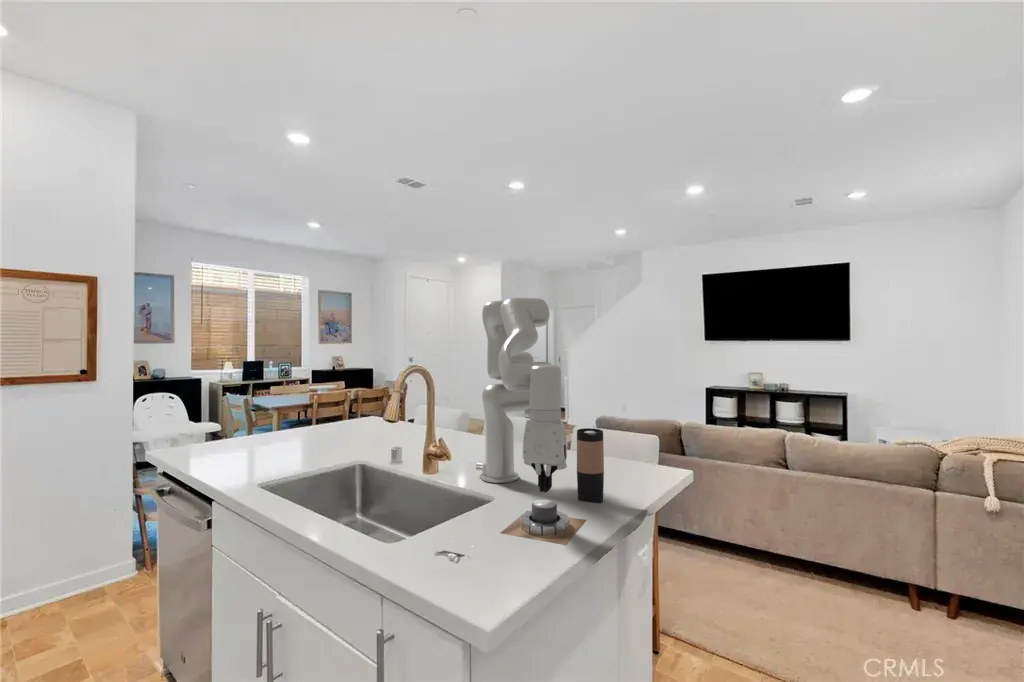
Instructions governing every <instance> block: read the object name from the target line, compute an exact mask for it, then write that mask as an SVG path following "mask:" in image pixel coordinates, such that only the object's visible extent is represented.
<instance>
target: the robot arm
mask: <svg viewBox="0 0 1024 682" xmlns="http://www.w3.org/2000/svg"><path fill="white" fill-rule="evenodd" d="M481 311H482V315H481V316H482V317H481V319H482V324H483V327H484V330H485V333H486V338H487V351H486V352H487V353H486V355H487V363H486V365H487V366H486V368H487V369H486V370H487V375H488V377H489V378H490V379H492V380H494V381H495V380H496V381H501V382H502V383H491V384H489V385H487V386H486V387H484V389H483V390H482V395H481V396H482V397H481V398H482V404H483V412H484V425H485V426H484V427H485V429H484V432H485V439H484V440H485V441H484V442H485V446H484V447H485V448H484V449H485V463H481V462H476V465H475V469H476V471H482V473H481V474H480V478H481V481H484V482H487V483H492V484H506V483H510V482H514V481H517V480H518V479H519V473H518V472H516V471H515V452H514V451H515V449H514V448H515V447H514V446H515V445H514V440H515V438H514V437H515V436H514V433H515V429H514V424H513V422H512V420H511V419H510V418H509V416H508V415H507V413H511V412H524V415H525V416H528V419H526V422H525V424H524V425H525V427H524V434H523V440H522V459H523V464H525V465H526V466H529V467H532V469H533V470H534V471H535V473H536V475H537V476H538V477H537V483H538V484H537V487H538V488H539V492H540V493H543V494H546V493H547V492H549V491H550V490H551V489H552V487H553V474H554V473H555V472H556V471H558V470H559V471H560V470H565V469H566V468H567V461H566V460H567V456H568V454H567V453H568V450H567V436H566V429H565V424H564V421H562V420H561V419H562V417H561V415H562V412H561V411H562V407H561V406H562V404H561V403H562V402H561V401H562V371H561V368H560V367H559V366H558V365H555V364H552V363H551V362H548V361H534V358H533V356H532V354H531V353H530V352H529V351H528V352H527V350H529V349H531V348H532V347H533V346H535V344H537V342H538V338H539V334H538V331H537V328H539V327H540V328H541V327H545V326H546V325H547V324H548V322H549V320H550V308H549V305H548V304H547V301H545V300H544V299H543V298H538V297H512V298H511V297H510V298H508V299H506V300H492V301H489V302H486V303H485V304H484V306H483V307H482V310H481Z"/></svg>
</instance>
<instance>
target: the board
mask: <svg viewBox="0 0 1024 682" xmlns="http://www.w3.org/2000/svg"><path fill="white" fill-rule="evenodd" d="M528 511H529V510H526V511H525V512H524V513H526V512H528ZM568 517H569V519H570V527H569V529H568V530H567V531H566V532H565V533H562V534H559V535H555V536H543V535H542V536H538V535H533V534H529V533H527V532H525V531H523V530H522V529H521V526H520V516H519V517H517V518H516V519H515V520H513V522H511V523H510V524H509V525H508V526H507V527H505V528H504V529H503V530H502V531H501V532H500V533H499V534H503V535H506V536H507V535H508V536H514V537H518V538H526V539H530V540H536V541H542V542H547V543H553V544H556V545H557V544H558V545H563V546H566V545H567V544H569V542H570V541H571V539H572V538H573V537H574V536H575V535H576V533H577V532H578V531H579V530H580V529H581V527H583V525H584V524H585V522H587V519H582V518H578V517H576V518H575V517H570V516H568Z"/></svg>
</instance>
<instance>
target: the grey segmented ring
mask: <svg viewBox="0 0 1024 682" xmlns="http://www.w3.org/2000/svg"><path fill="white" fill-rule="evenodd" d="M527 511H528V512H526V511H525V512H526V513H525V512H524V513H523V514H521V515H520V516H519V517H520V526H521V529H522V530H523V531H525V532H527V533H529V534H533V535H538V536H542V535H543V536H555V535H559V534H562V533H565V532H566V531H567V530H568V529H569V527H570V519H569V517H570V516H568V514H566V513H564V512H562V511H560V510H559V511H558V510H557V522H555V523H552V524H541V523H535V522H533V521H532V510H527Z"/></svg>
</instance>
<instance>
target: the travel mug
mask: <svg viewBox="0 0 1024 682" xmlns="http://www.w3.org/2000/svg"><path fill="white" fill-rule="evenodd" d="M604 451H605V450H604V430H602V429H599V428H590V427H588V428H587V427H585V428H579V429H577V430H576V479H577V480H576V483H577V487H576V488H577V501H578V502H585V503H592V504H599V505H601V504H602V503H603V502H604V481H605V479H604V477H605V459H604V457H605V456H604V454H605V453H604Z"/></svg>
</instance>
